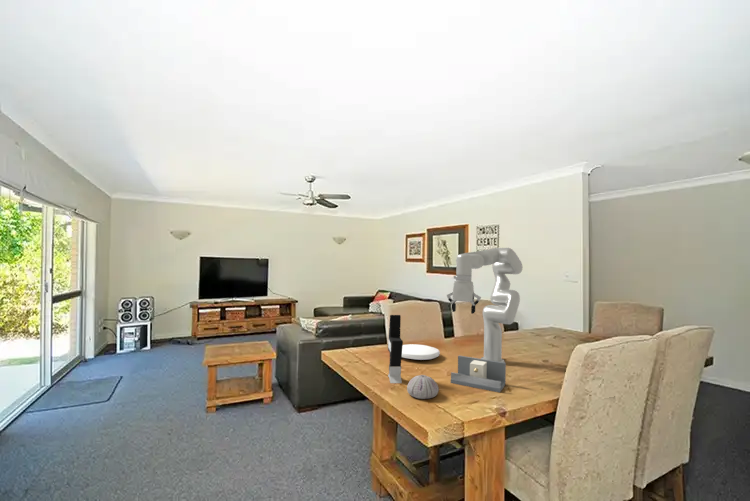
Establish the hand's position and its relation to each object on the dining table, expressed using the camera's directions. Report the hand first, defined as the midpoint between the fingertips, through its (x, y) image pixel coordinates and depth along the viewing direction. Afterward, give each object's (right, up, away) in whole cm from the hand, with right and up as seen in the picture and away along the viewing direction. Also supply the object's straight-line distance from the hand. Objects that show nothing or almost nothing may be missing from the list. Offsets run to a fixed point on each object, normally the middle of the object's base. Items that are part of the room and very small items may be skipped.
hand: (463, 312), depth 185 cm
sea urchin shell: (-25, -30, -32) cm, 50 cm away
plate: (-20, -31, +29) cm, 47 cm away
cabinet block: (+3, -29, -16) cm, 33 cm away
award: (-36, -30, -13) cm, 48 cm away
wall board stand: (+3, -30, -17) cm, 34 cm away
